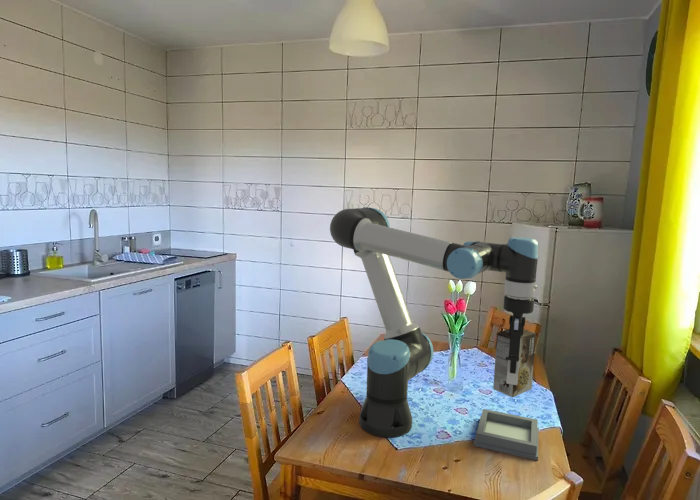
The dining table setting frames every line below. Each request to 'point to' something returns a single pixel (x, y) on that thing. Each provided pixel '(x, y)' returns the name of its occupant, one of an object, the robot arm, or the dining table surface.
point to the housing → (508, 434)
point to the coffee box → (524, 363)
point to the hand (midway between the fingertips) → (513, 375)
